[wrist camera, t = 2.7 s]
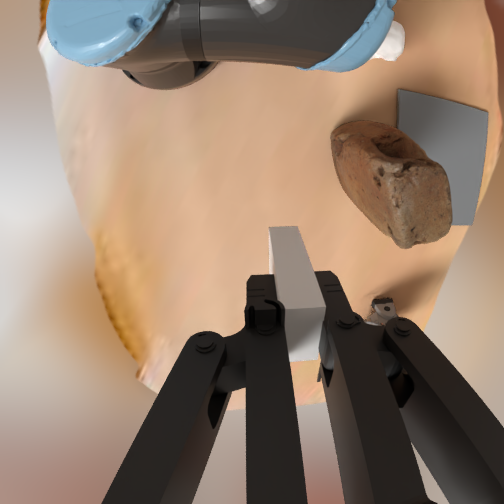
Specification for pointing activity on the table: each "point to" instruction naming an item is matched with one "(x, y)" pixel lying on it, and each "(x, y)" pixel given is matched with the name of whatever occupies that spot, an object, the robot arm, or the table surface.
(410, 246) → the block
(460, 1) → the table surface
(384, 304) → the figurine
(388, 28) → the robot arm
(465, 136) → the mat
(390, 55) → the white lumpy piece
